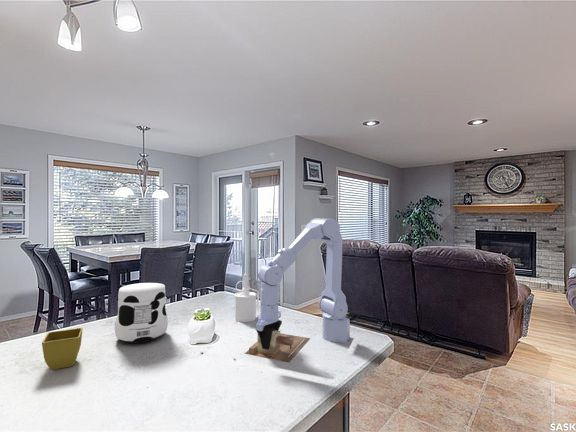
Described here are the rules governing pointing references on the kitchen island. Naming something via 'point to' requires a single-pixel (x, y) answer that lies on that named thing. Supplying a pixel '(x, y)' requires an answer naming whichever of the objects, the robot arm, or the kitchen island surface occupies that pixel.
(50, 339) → the flower pot
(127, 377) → the kitchen island surface
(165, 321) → the milk container
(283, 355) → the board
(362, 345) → the kitchen island surface
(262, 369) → the kitchen island surface
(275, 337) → the mallet
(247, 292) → the white soap dispenser
